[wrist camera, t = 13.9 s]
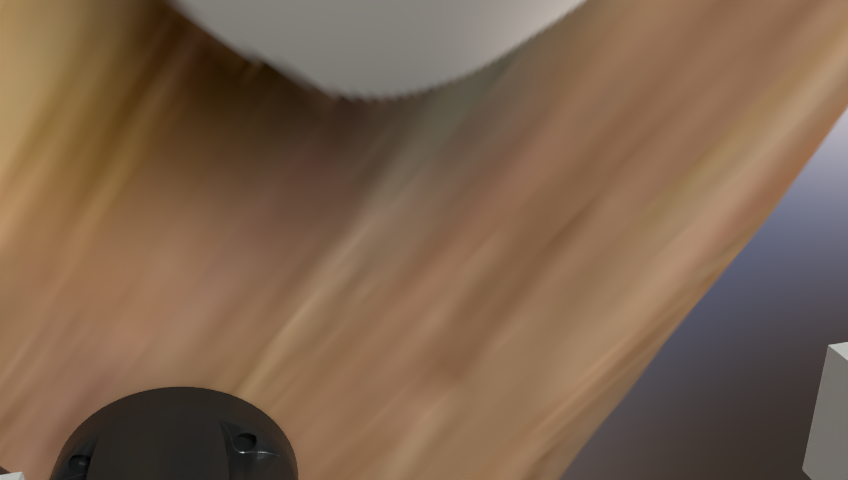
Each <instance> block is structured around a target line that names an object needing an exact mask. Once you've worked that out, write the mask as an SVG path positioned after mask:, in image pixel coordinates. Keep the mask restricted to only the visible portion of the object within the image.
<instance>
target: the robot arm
mask: <svg viewBox="0 0 848 480" xmlns="http://www.w3.org/2000/svg"><path fill="white" fill-rule="evenodd" d="M802 470H803V471H804V472H805V473H806V474H807V475H808V476H809V477H810V478H811V479H812V480H848V342H846V343H840V344H834V345H828V349H827V355H826V359H825V364H824V368H823V373H822V379H821V383H820V388H819V393H818V397H817V402H816V407H815V411H814V416H813V421H812V426H811V431H810V435H809V440H808V445H807V450H806V455H805V459H804V464H803V469H802ZM0 480H25V479H24V476H23V473H22V472H17V473H10V472H9V471H7V470H5V469H4V468H2V467H1V466H0ZM50 480H298V468H297V462H296V458H295V454H294V451H293V449H292V446H291V444H290V442H289V440H288V439H287V437H286V435H285V434H284V433H283V431H282V430H281V429H280V427H279V426H278V425H277V424H276V423H275V422H274V421H273V420H272V419H271V418H270V417H269V416H268V415H266V414H265V413H264V412H262V411H261V410H260V409H258V408H257V407H255V406H253V405H252V404H250V403H248V402H246V401H244V400H242V399H240V398H237V397H235V396H232V395H229V394H226V393H223V392H219V391H215V390H210V389H204V388H195V387H168V388H159V389H152V390H148V391H143V392H139V393H136V394H132V395H130V396H127V397H124V398H122V399H119V400H117V401H115V402H113V403H111V404H109V405H107V406H105V407H103V408H102V409H100V410H99V411H97V412H96V413H94V414H93V415H91V416H90V417H89V418H88V419H86V420H85V421H84V422H83V423H82V424H81V425H80V426H79V427H78V428H77V429H76V430H75V431H74V432H73V434H72V435H71V436H70V437H69V439H68V440H67V442H66V443H65V445H64V447H63V448H62V450H61V452H60V455H59V457H58V459H57V462H56V465H55V468H54V470H53V473H52V476H51V478H50Z"/></svg>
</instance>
